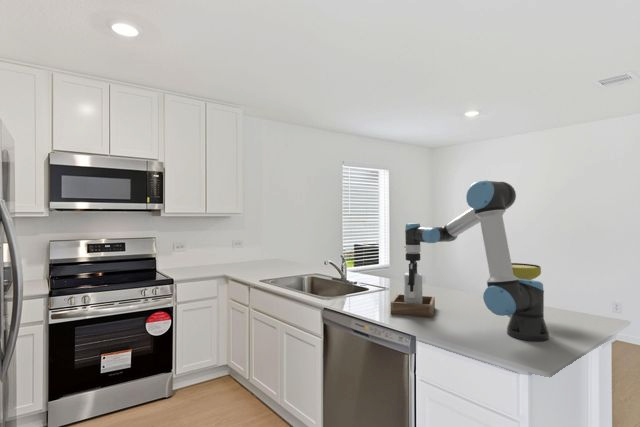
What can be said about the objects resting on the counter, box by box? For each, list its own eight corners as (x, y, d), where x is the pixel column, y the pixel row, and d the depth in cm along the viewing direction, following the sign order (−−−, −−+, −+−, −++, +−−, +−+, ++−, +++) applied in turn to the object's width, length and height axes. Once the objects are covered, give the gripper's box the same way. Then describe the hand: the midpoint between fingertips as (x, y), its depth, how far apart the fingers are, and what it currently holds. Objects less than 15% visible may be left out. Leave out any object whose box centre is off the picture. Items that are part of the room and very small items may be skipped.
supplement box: (422, 305, 188) (422, 275, 188) (404, 304, 190) (404, 275, 190) (421, 300, 197) (421, 272, 197) (404, 300, 199) (404, 272, 199)
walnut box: (431, 317, 180) (431, 305, 180) (390, 314, 188) (390, 302, 188) (434, 307, 199) (434, 296, 199) (397, 304, 206) (397, 294, 206)
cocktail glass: (528, 311, 190) (528, 262, 190) (549, 322, 172) (549, 268, 172) (492, 311, 190) (492, 263, 190) (510, 322, 172) (509, 268, 172)
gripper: (408, 250, 205) (408, 290, 205) (402, 254, 184) (402, 299, 184) (422, 250, 202) (422, 291, 202) (417, 255, 182) (418, 300, 182)
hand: (413, 295), depth 193 cm, fingers closed on supplement box, 10 cm apart
